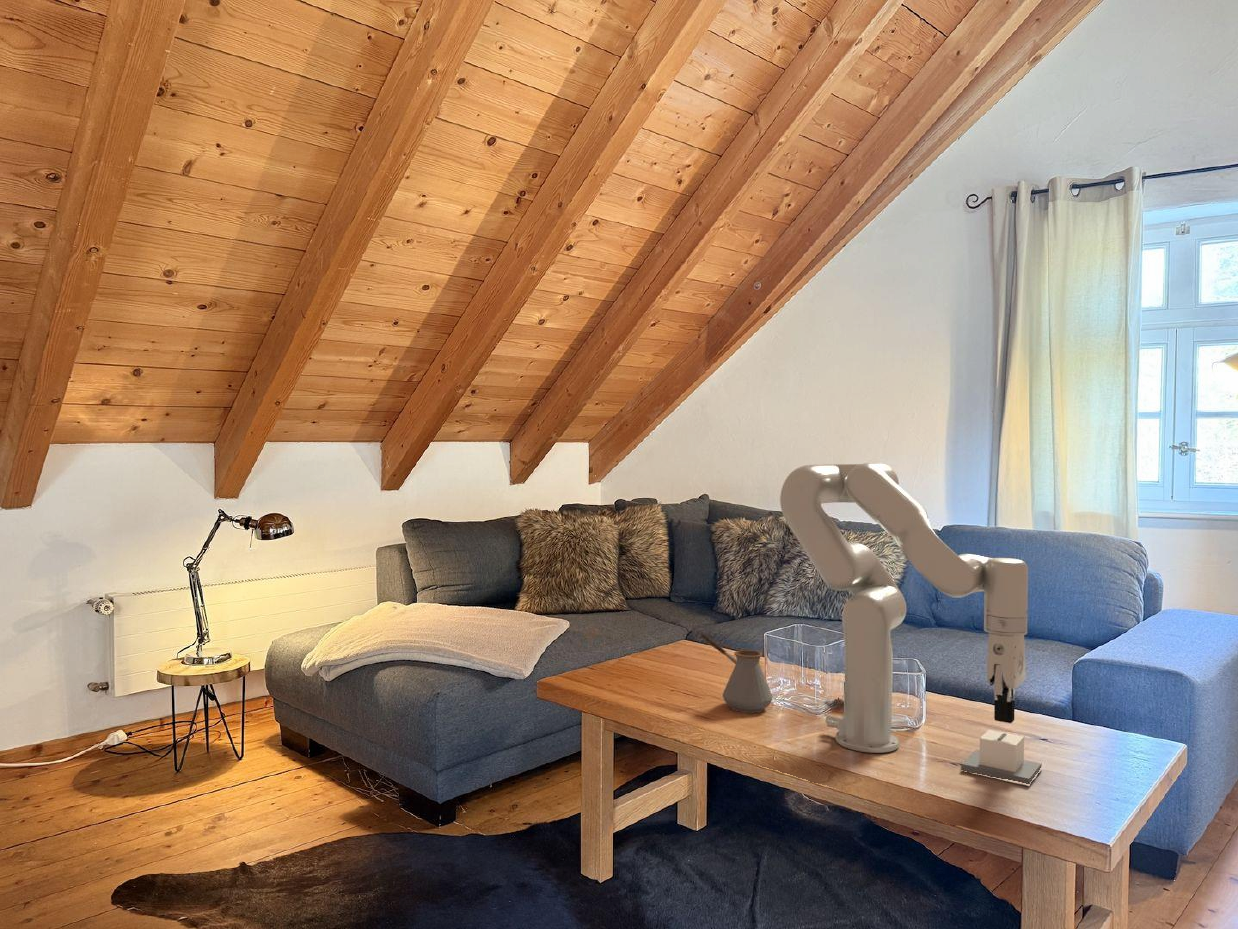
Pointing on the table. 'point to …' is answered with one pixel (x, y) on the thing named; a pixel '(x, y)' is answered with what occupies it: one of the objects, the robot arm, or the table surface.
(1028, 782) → the plate
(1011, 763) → the cream coin box
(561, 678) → the table surface
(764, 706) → the coffee pot
